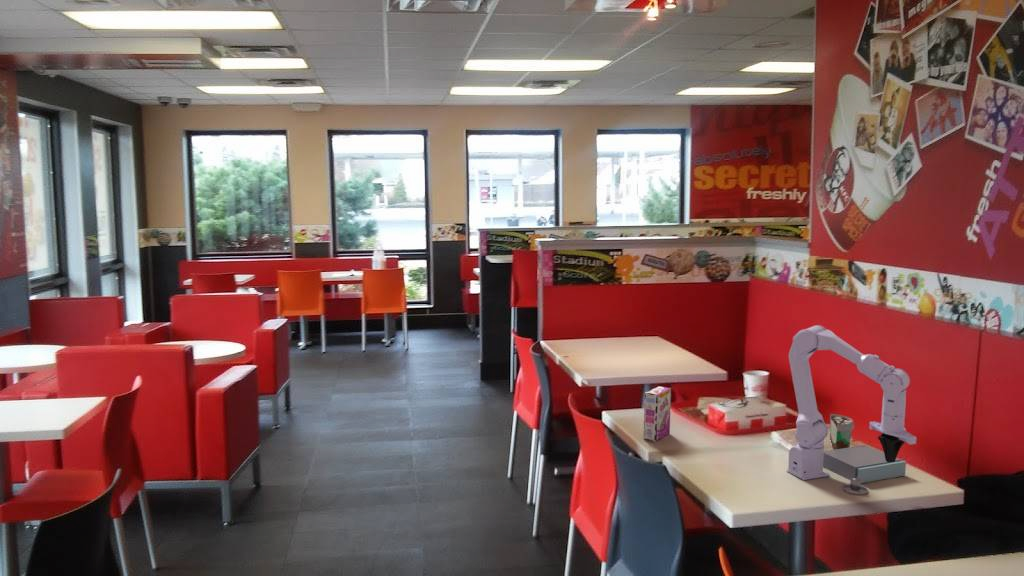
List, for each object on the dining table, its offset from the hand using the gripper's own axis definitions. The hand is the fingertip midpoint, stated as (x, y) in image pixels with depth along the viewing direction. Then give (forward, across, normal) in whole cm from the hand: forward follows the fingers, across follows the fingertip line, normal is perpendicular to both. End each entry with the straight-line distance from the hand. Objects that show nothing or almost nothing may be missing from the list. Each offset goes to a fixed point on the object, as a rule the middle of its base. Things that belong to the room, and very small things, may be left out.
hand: (890, 461), depth 221 cm
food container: (+10, +33, -14) cm, 37 cm away
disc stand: (+9, +5, +7) cm, 13 cm away
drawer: (+9, +15, -6) cm, 18 cm away
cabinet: (+9, +17, -6) cm, 20 cm away
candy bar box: (+10, +66, +35) cm, 75 cm away
